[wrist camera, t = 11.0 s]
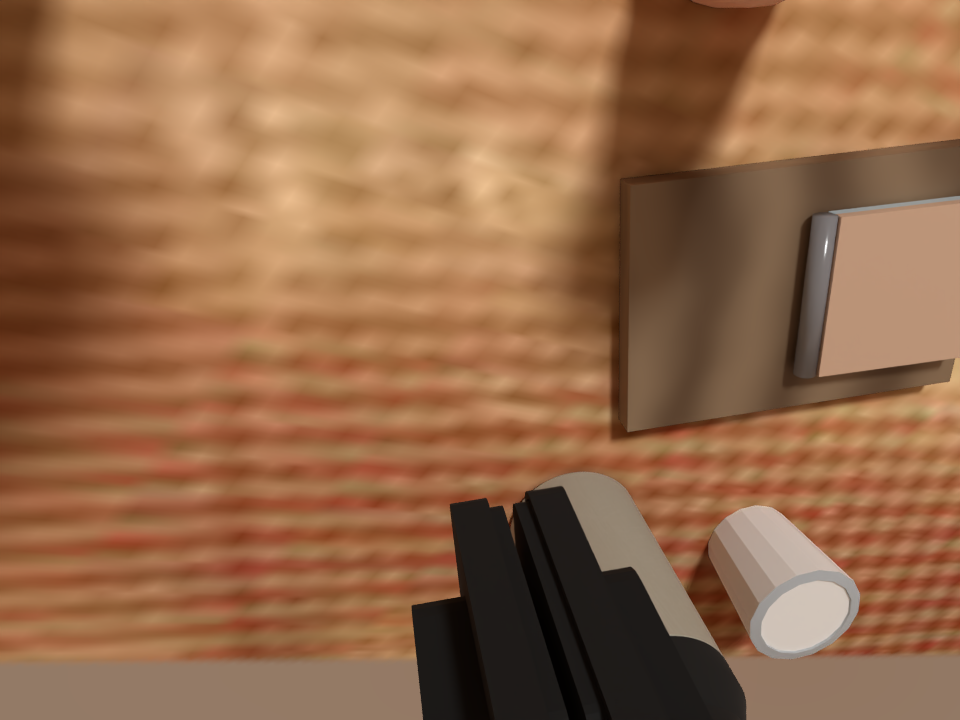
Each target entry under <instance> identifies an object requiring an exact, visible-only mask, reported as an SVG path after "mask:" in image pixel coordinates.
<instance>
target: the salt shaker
mask: <svg viewBox="0 0 960 720" xmlns="http://www.w3.org/2000/svg"><path fill="white" fill-rule="evenodd" d="M691 1H692V2H695V3H699V4H703V5H706V6H710V7H714V8H752V7H761V6H770V5H776V4H778V3H780V2H782V1H784V0H691Z"/></svg>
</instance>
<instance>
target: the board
mask: <svg viewBox="0 0 960 720" xmlns="http://www.w3.org/2000/svg"><path fill="white" fill-rule="evenodd" d="M954 196H960V139H957V140H949V141H940V142H932V143H923V144H915V145H906V146H898V147H889V148H881V149H872V150H864V151H855V152H847V153H838V154H830V155H821V156H813V157H804V158H796V159H787V160H779V161H770V162H762V163H753V164H745V165H736V166H728V167H719V168H711V169H702V170H694V171H685V172H677V173H668V174H660V175H651V176H643V177H634V178H626V179H620V303H619V420H620V422H621V423H622V425H623V426H624V428H625V429H626V431H627V432H631V431H638V430H644V429H650V428H657V427H663V426H669V425H676V424H682V423H688V422H695V421H701V420H707V419H714V418H720V417H727V416H733V415H739V414H746V413H752V412H758V411H765V410H771V409H777V408H784V407H790V406H796V405H803V404H809V403H816V402H822V401H828V400H835V399H841V398H847V397H854V396H860V395H866V394H873V393H879V392H885V391H892V390H898V389H905V388H911V387H917V386H924V385H930V384H936V383H943V382H949V381H950V377H951V373H952V369H953V365H954V360H955V358H953V359H946V360H939V361H931V362H924V363H917V364H910V365H903V366H895V367H888V368H881V369H874V370H866V371H859V372H852V373H845V374H838V375H830V376H823V377H818V376H817V375H816V376H815V377H813V378H800V377H797V376H795V375H794V374H793V366H794V358H795V350H796V342H797V334H798V326H799V318H800V310H801V303H802V295H803V287H804V279H805V271H806V263H807V255H808V247H809V239H810V231H811V223H812V215H813V214H814V213H818V212H828V211H835V210H844V209H852V208H861V207H869V206H878V205H886V204H895V203H903V202H912V201H920V200H929V199H937V198H945V197H954Z"/></svg>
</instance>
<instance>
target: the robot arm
mask: <svg viewBox="0 0 960 720" xmlns="http://www.w3.org/2000/svg"><path fill="white" fill-rule="evenodd" d="M450 511H451V520H452V528H453V537H454V545H455V553H456V562H457V570H458V578H459V587H460V595H461V597H457V598H451V599H445V600H440V601H434V602H429V603H423V604H417V605H412V617H413V627H414V637H415V646H416V656H417V665H418V674H419V683H420V694H421V703H422V713H423V720H713V719H712V717H711V715H710V713H709V711H708V709H707V707H706V705H705V704H704V702H703V700H702V698H701V696H700V694H699V692H698V690H697V688H696V686H695V684H694V682H693V680H692V678H691V676H690V674H689V672H688V670H687V668H686V666H685V665H684V663H683V661H682V659H681V657H680V655H679V653H678V651H677V649H676V647H675V645H674V643H673V641H672V639H671V637H670V635H669V633H668V631H667V629H666V627H665V626H664V624H663V622H662V620H661V618H660V616H659V614H658V612H657V610H656V608H655V606H654V604H653V602H652V600H651V598H650V596H649V594H648V592H647V590H646V588H645V586H644V585H643V583H642V581H641V579H640V577H639V575H638V574H637V572H636V571H635V570H634V569H633V568H632V567H631V566H630V567H625V568H619V569H614V570H608V571H601V569H600V566H599V564H598V562H597V560H596V557H595V555H594V553H593V551H592V549H591V546H590V544H589V542H588V540H587V537H586V535H585V533H584V531H583V529H582V526H581V524H580V522H579V520H578V517H577V515H576V513H575V511H574V509H573V506H572V504H571V502H570V500H569V497H568V495H567V493H566V491H565V489H564V487H562V486H557V487H551V488H545V489H538V490H532V491H526V492H525V502H521V503H515V504H513V520H514V534H515V543H514V540H513V537H512V534H511V530H510V527H509V524H508V521H507V517H506V514H505V511H504V508H503V506H497V507H491V508H490V507H489V503H488V500H487V499H486V498H484V499H478V500H471V501H465V502H459V503H453V504H450Z"/></svg>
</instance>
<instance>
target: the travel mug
mask: <svg viewBox="0 0 960 720" xmlns="http://www.w3.org/2000/svg"><path fill="white" fill-rule="evenodd" d="M557 486H562V487H564V489H565V491H566V493H567V495H568V497H569V500H570V502H571V504H572V506H573V509H574V511H575V513H576V515H577V517H578V520H579V522H580V524H581V526H582V529H583V531H584V533H585V535H586V537H587V540H588V542H589V544H590V546H591V549H592V551H593V553H594V555H595V557H596V560H597V562H598V564H599V566H600V569H601V571H608V570H614V569H619V568H625V567H630V566H631V567H632V568H633V569H634V570H635V571H636V572H637V574H638V575H639V577H640V579H641V581H642V583H643V585H644V586H645V588H646V590H647V592H648V594H649V596H650V598H651V600H652V602H653V604H654V606H655V608H656V610H657V612H658V614H659V616H660V618H661V620H662V622H663V624H664V626H665V627H666V629H667V631H668V633H669V635H670V637H671V639H672V641H673V643H674V645H675V647H676V649H677V651H678V653H679V655H680V657H681V659H682V661H683V663H684V665H685V666H686V668H687V670H688V672H689V674H690V676H691V678H692V680H693V682H694V684H695V686H696V688H697V690H698V692H699V694H700V696H701V698H702V700H703V702H704V704H705V705H706V707H707V709H708V711H709V713H710V715H711V717H712V719H713V720H746V699H745V695H744V692H743V690H742V688H741V686H740V684H739V683H738V681H737V679H736V677H735V676H734V674H733V672H732V670H731V669H730V668H729V665H728V663H727V662H726V660H725V658H724V657H723V655H722V653H721V651H720V650H719V648H718V646H717V644H716V643H715V641H714V639H713V638H712V636H711V634H710V632H709V631H708V629H707V627H706V625H705V624H704V622H703V620H702V619H701V617H700V615H699V613H698V612H697V610H696V608H695V606H694V605H693V603H692V601H691V600H690V598H689V596H688V594H687V593H686V591H685V589H684V587H683V586H682V584H681V582H680V581H679V579H678V577H677V575H676V574H675V572H674V570H673V568H672V567H671V565H670V563H669V562H668V560H667V558H666V556H665V555H664V553H663V551H662V550H661V548H660V546H659V544H658V543H657V541H656V539H655V537H654V536H653V534H652V532H651V531H650V529H649V527H648V525H647V524H646V522H645V520H644V518H643V517H642V515H641V513H640V512H639V510H638V508H637V506H636V505H635V503H634V501H633V499H632V498H631V496H630V494H629V493H628V491H627V490H626V489H625V488H624V487H623V486H622V485H621V484H620V483H619V482H617V481H616V480H614V479H612V478H610V477H608V476H605V475H603V474H599V473H593V472H575V473H569V474H564V475H561V476H558V477H555V478H553V479H551V480H548V481H546V482H545V483H543V484H541V485H540V486H538V487H537V488H535V489H534V490H538V489H545V488H551V487H557ZM522 502H525V499H524V500H523V501H522ZM510 530H511V534H512V537H513V540H514V543H515V534H514V520H512V523H511V529H510Z"/></svg>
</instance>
